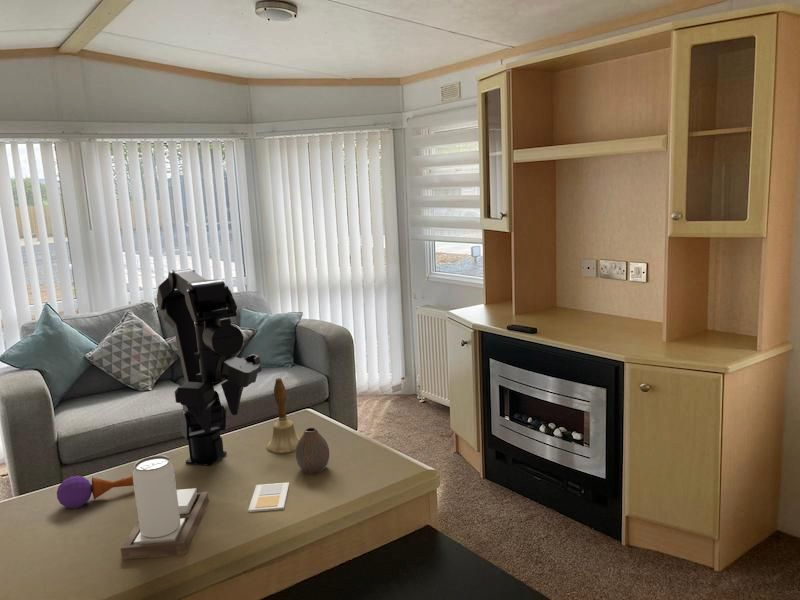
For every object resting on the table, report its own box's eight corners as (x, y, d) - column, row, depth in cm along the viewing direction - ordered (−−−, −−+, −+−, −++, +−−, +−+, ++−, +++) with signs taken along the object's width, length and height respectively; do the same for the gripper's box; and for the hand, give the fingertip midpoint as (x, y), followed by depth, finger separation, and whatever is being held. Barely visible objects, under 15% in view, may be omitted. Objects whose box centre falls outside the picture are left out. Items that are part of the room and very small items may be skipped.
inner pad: (161, 498, 121) (160, 491, 121) (197, 495, 122) (196, 488, 121) (150, 516, 115) (149, 508, 115) (188, 513, 115) (187, 505, 115)
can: (188, 526, 110) (180, 460, 108) (152, 543, 105) (142, 474, 103) (168, 515, 114) (160, 451, 112) (133, 531, 110) (123, 464, 108)
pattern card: (256, 486, 128) (256, 484, 128) (289, 484, 129) (289, 481, 129) (248, 512, 118) (248, 509, 118) (283, 509, 119) (283, 506, 119)
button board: (155, 505, 123) (154, 495, 122) (209, 501, 123) (207, 491, 123) (122, 559, 105) (120, 548, 105) (184, 554, 106) (183, 543, 106)
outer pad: (147, 529, 113) (146, 521, 113) (186, 526, 113) (185, 518, 113) (134, 550, 107) (133, 542, 106) (175, 546, 107) (174, 538, 107)
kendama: (170, 469, 130) (57, 490, 120) (170, 494, 132) (59, 517, 121) (164, 454, 135) (55, 473, 124) (164, 479, 136) (56, 499, 126)
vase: (328, 476, 131) (325, 435, 130) (294, 477, 131) (290, 436, 130) (332, 461, 138) (329, 422, 136) (300, 463, 138) (296, 424, 137)
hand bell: (304, 450, 145) (298, 381, 142) (266, 455, 143) (260, 386, 140) (302, 436, 153) (296, 371, 150) (266, 441, 151) (259, 375, 148)
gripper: (221, 361, 113) (230, 445, 116) (274, 335, 131) (281, 409, 134) (168, 358, 117) (178, 440, 120) (226, 334, 134) (234, 406, 137)
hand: (221, 423), depth 127 cm, fingers open, 9 cm apart
